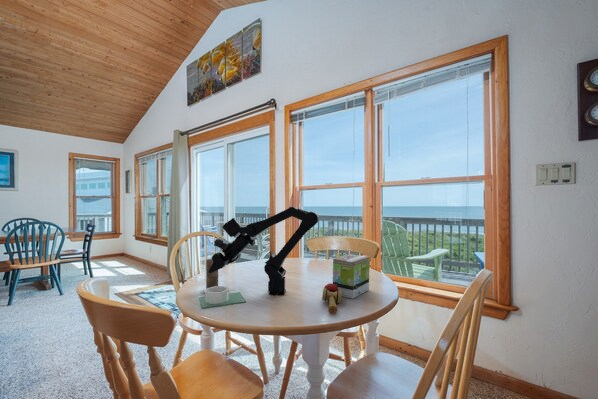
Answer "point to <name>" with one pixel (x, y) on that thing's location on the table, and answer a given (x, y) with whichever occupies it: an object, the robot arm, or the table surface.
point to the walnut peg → (211, 275)
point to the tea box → (351, 274)
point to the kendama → (332, 296)
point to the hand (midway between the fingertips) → (214, 269)
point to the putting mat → (220, 297)
